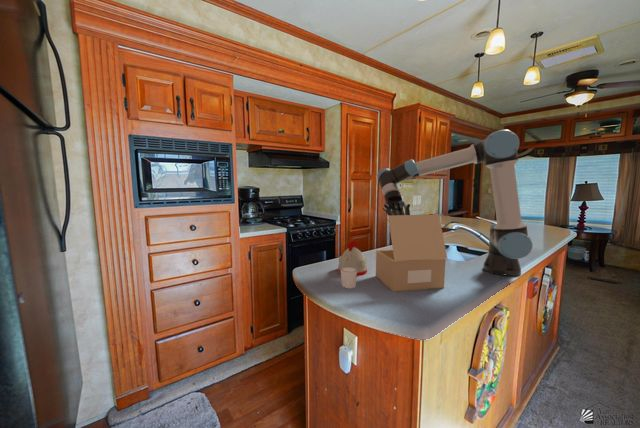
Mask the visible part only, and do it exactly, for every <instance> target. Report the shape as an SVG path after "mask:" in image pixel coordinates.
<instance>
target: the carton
mask: <svg viewBox="0 0 640 428" xmlns="http://www.w3.org/2000/svg"><path fill="white" fill-rule="evenodd" d="M375 255H376V256H375V277H376V278H377V279H378V280H379V281H380V282H382V283H383V284H384V285H385V286H386V287H387V289H389V290H391V291H392V293H393V292H407V291H421V290H435V289H444V288H445V276H446V274H445V273H446V259H427V260H407V261H394V255H393V249H381V250H376V251H375Z"/></svg>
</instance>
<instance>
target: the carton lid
mask: <svg viewBox="0 0 640 428" xmlns="http://www.w3.org/2000/svg"><path fill="white" fill-rule="evenodd" d="M387 217H388V225H389V232H390V238H391V247H392V250H393V255H394V261H407V260H427V259H445V260H446V259H448V257H447V256H448V255H447V251H446V245H445V239H444V233H443V229H442V223H441V217H440V214H410V215H391V216H388V215H387Z"/></svg>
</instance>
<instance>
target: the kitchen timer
mask: <svg viewBox="0 0 640 428" xmlns="http://www.w3.org/2000/svg"><path fill="white" fill-rule="evenodd" d="M347 247H348V248H346V249H345V250H344V251H343V253H342V255H340V256H339V258H338V265H337V271H339V272H340V274H341V268H344V267H352V268H356V269H357V277H361V276H364V275H366V274H368V266H367V258H365V255H364V254H363V253H362V251H361V250H360V249H358V248H357V247H358V244H357V242H356V241H355V240H352V241H350V242H349V245H347ZM339 272H338V273H339Z"/></svg>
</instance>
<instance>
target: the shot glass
mask: <svg viewBox="0 0 640 428" xmlns="http://www.w3.org/2000/svg"><path fill="white" fill-rule="evenodd" d="M357 277H358V276H357V269H356V268H352V267H344V268H341V273H340V279H341V287H342V286H343V288H344V287H345V288H346V289H354V288H355V287H357V286H356V285H357V283H356V282H357ZM345 288H344V289H345Z"/></svg>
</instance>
